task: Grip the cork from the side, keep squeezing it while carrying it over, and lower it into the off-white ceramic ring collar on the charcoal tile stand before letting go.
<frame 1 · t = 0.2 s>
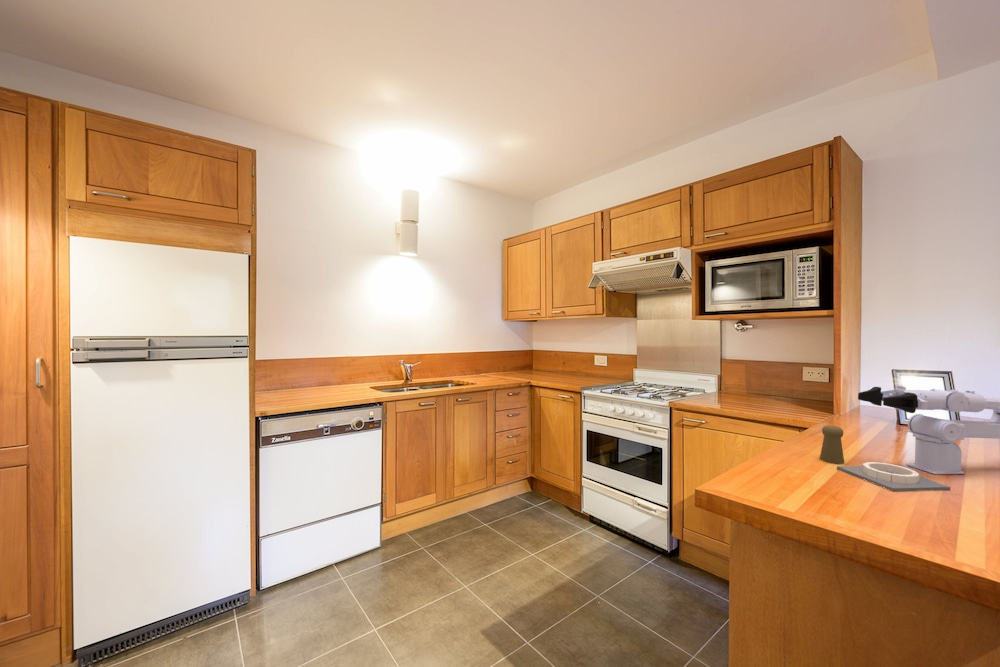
hand: (871, 398, 118), 21 cm above the table, tool horizontal, fingers open, 7 cm apart
cork: (831, 461, 127), on the table
ring stand: (889, 478, 112), on the table
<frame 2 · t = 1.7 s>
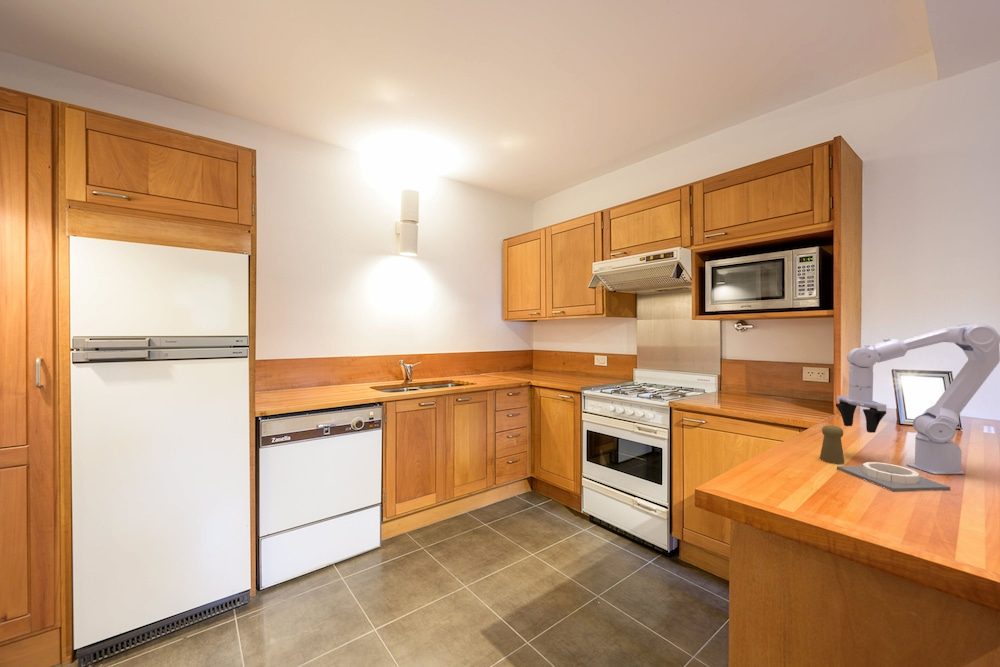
hand: (859, 429, 127), 10 cm above the table, tool pointing down, fingers open, 7 cm apart
nothing on the table moved.
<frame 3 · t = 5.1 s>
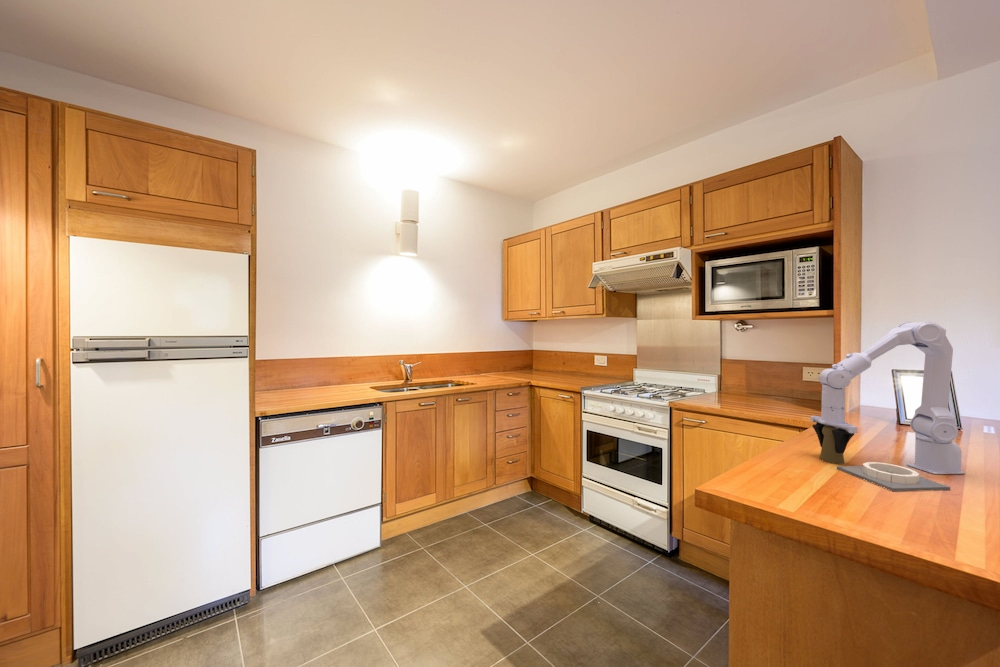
hand: (832, 450, 127), 3 cm above the table, tool pointing down, fingers closed on cork, 5 cm apart
cork: (831, 461, 127), on the table, touching gripper
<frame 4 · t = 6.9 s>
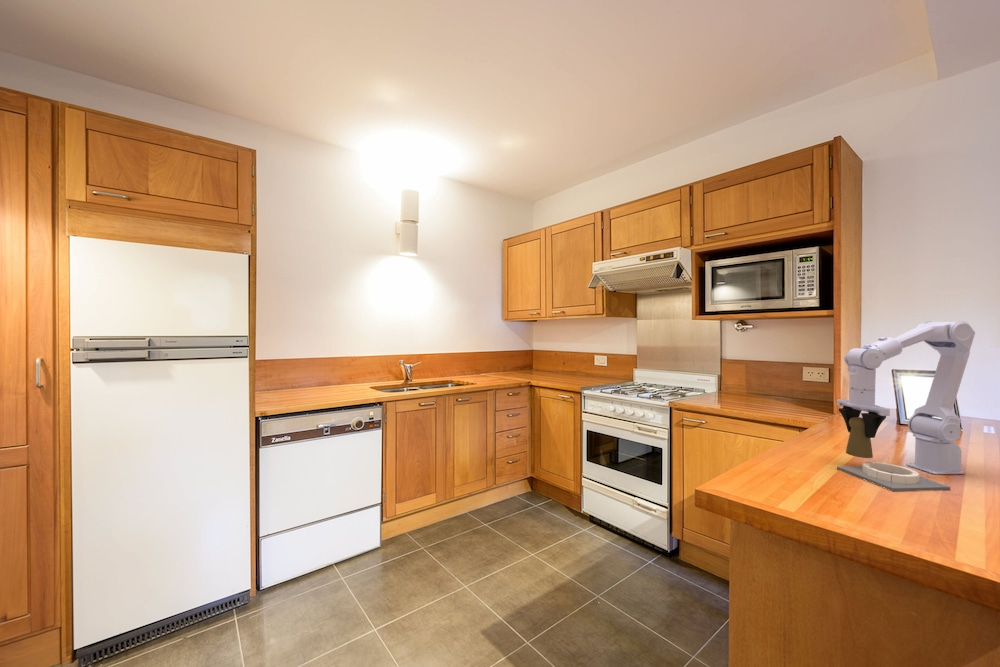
hand: (860, 434, 119), 10 cm above the table, tool pointing down, fingers closed on cork, 5 cm apart
cork: (858, 455, 119), point 4 cm above the table, touching gripper
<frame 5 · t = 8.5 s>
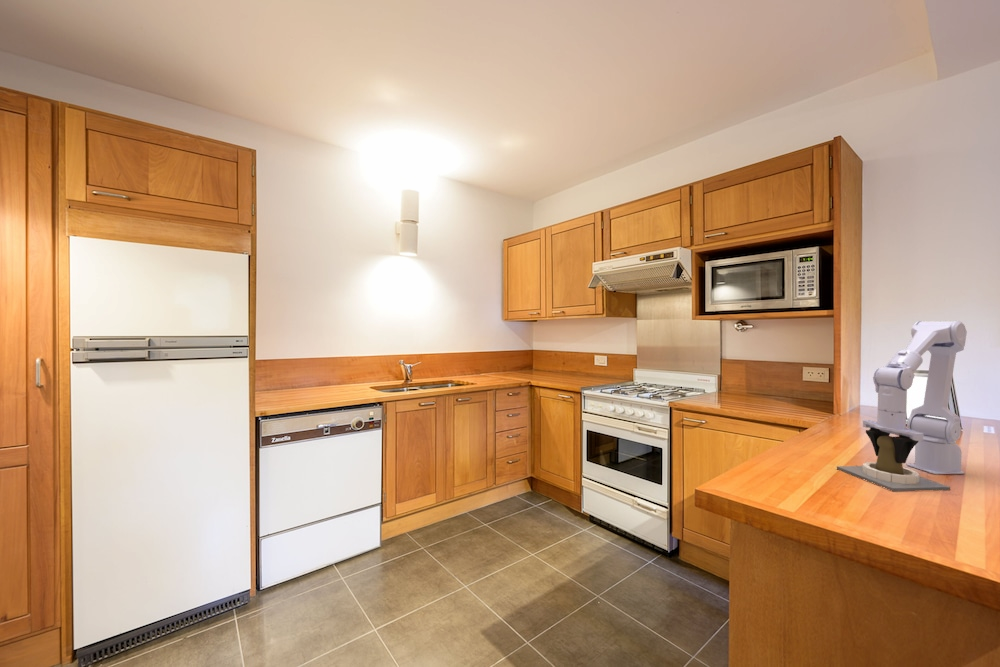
hand: (890, 459, 112), 6 cm above the table, tool pointing down, fingers closed on cork, 5 cm apart
cork: (889, 476, 112), point 1 cm above the table, touching gripper, ring stand
when the fingers open (5 cm above the table, at t = 9.6 s): cork stays where it is, resting on ring stand.
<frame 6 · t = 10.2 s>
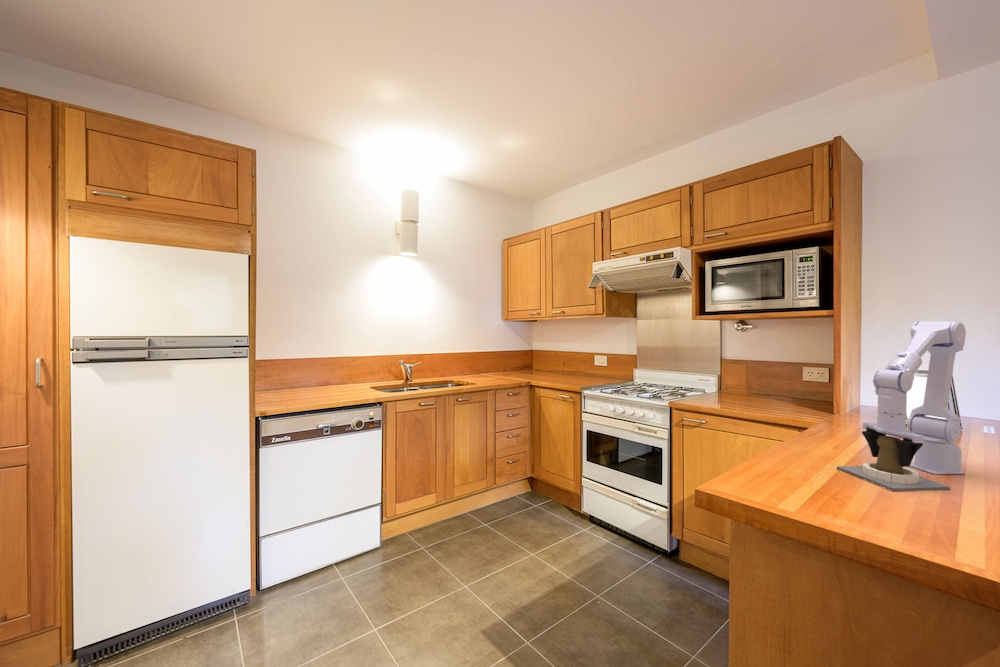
hand: (890, 461, 112), 5 cm above the table, tool pointing down, fingers open, 7 cm apart
cork: (889, 476, 112), point 1 cm above the table, touching ring stand
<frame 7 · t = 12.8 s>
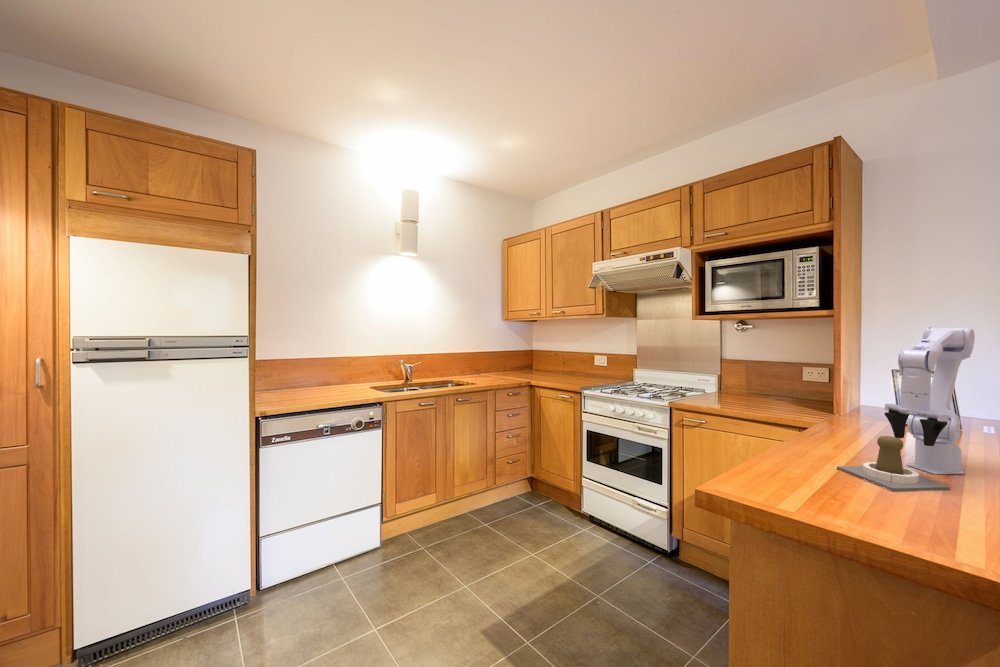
hand: (913, 441, 112), 10 cm above the table, tool pointing down, fingers open, 7 cm apart
nothing on the table moved.
at the end: cork 0.3 cm off-centre on the ring stand, point 0.6 cm above the ring stand's base; cork tilted 0°; the gripper is holding nothing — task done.
